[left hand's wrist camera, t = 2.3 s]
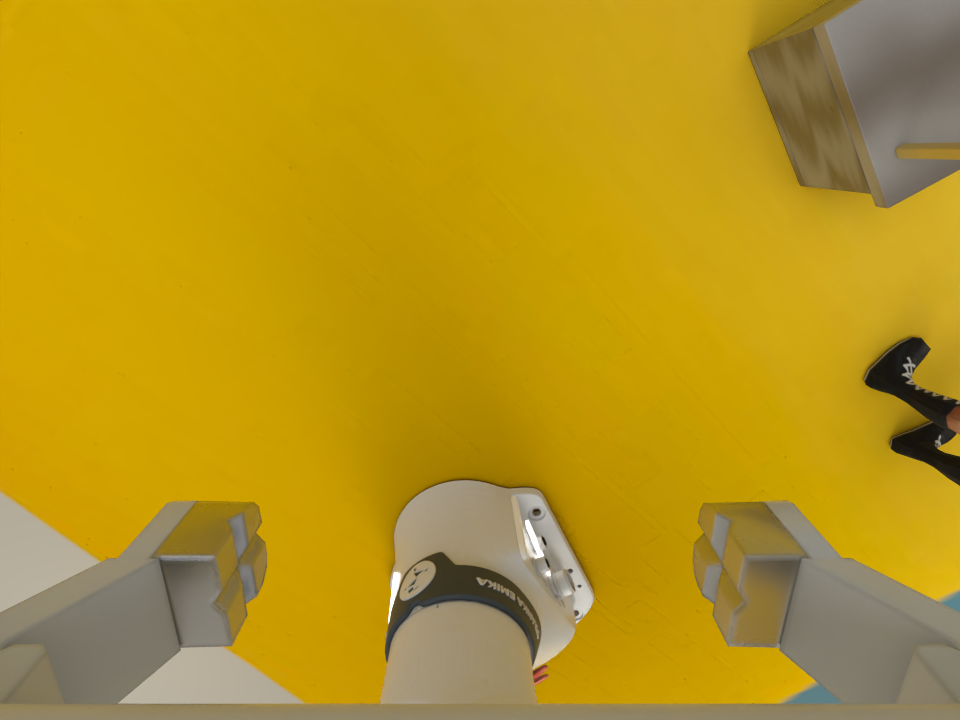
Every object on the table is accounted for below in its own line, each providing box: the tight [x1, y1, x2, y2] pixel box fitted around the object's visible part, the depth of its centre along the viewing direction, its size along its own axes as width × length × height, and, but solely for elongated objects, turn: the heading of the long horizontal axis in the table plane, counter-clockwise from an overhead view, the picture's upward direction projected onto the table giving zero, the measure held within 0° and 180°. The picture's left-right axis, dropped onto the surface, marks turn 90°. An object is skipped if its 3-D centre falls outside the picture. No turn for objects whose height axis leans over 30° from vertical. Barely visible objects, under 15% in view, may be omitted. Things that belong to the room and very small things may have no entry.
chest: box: [748, 0, 871, 194], centre depth 39 cm, size 11×10×9 cm
